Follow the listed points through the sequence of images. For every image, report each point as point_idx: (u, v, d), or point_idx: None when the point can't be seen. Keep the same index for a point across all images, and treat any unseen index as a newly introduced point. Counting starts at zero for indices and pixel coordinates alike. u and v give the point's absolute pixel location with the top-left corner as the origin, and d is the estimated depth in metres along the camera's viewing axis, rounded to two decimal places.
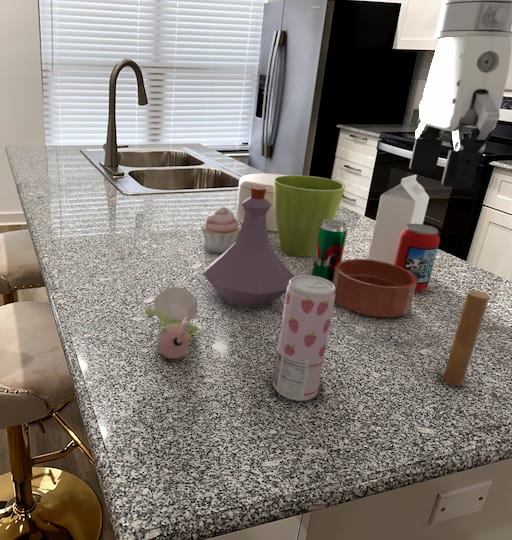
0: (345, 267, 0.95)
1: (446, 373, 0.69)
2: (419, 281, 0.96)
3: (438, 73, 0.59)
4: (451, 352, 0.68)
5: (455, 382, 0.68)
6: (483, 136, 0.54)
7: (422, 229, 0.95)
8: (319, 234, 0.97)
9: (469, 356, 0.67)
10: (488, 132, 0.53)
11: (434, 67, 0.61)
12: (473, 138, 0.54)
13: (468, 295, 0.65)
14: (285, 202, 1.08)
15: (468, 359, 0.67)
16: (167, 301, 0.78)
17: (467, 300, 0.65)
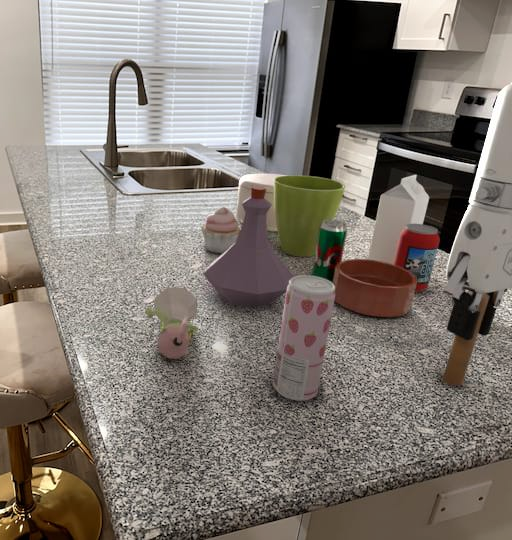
0: (345, 267, 0.95)
1: (446, 373, 0.69)
2: (419, 281, 0.96)
3: None
4: (451, 352, 0.68)
5: (455, 382, 0.68)
6: None
7: (422, 229, 0.95)
8: (319, 234, 0.97)
9: (469, 356, 0.67)
10: (457, 298, 0.63)
11: None
12: (453, 296, 0.64)
13: None
14: (285, 202, 1.08)
15: (468, 359, 0.67)
16: (167, 301, 0.78)
17: None
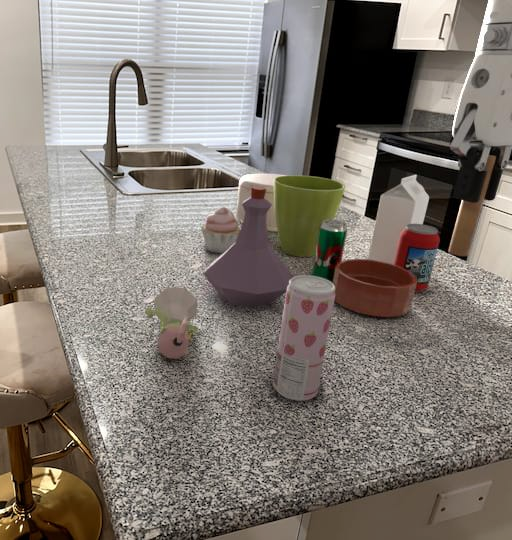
0: (345, 267, 0.95)
1: (452, 244, 0.68)
2: (419, 281, 0.96)
3: None
4: (457, 221, 0.67)
5: (461, 252, 0.68)
6: None
7: (422, 229, 0.95)
8: (319, 234, 0.97)
9: (475, 223, 0.66)
10: (464, 155, 0.62)
11: None
12: (459, 156, 0.63)
13: None
14: (285, 202, 1.08)
15: (474, 226, 0.66)
16: (167, 301, 0.78)
17: None
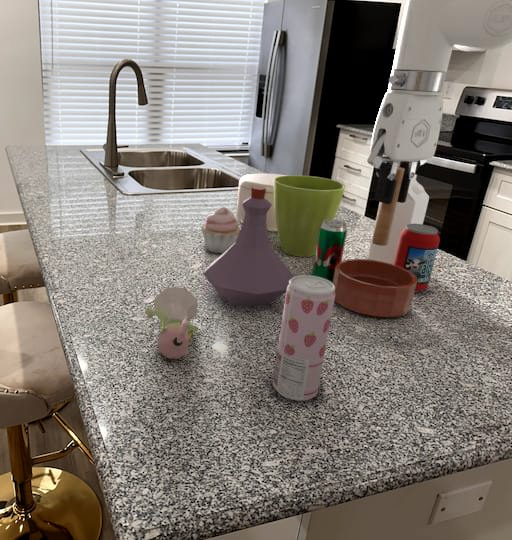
0: (345, 267, 0.95)
1: (374, 236, 0.87)
2: (419, 281, 0.96)
3: None
4: (378, 218, 0.86)
5: (381, 242, 0.87)
6: None
7: (422, 229, 0.95)
8: (319, 234, 0.97)
9: (391, 220, 0.85)
10: (378, 167, 0.81)
11: None
12: (376, 168, 0.82)
13: None
14: (285, 202, 1.08)
15: (390, 222, 0.85)
16: (167, 301, 0.78)
17: None
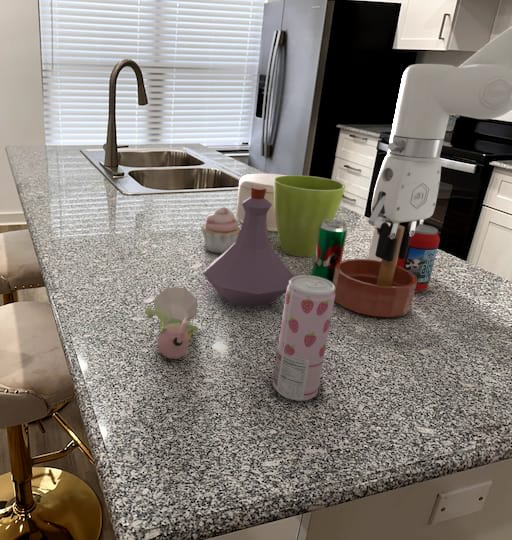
0: (345, 267, 0.95)
1: None
2: (419, 281, 0.96)
3: None
4: (379, 273, 0.89)
5: None
6: None
7: (422, 229, 0.95)
8: (319, 234, 0.97)
9: (392, 275, 0.88)
10: (379, 228, 0.83)
11: None
12: (377, 227, 0.85)
13: None
14: (285, 202, 1.08)
15: (391, 278, 0.88)
16: (167, 301, 0.78)
17: None
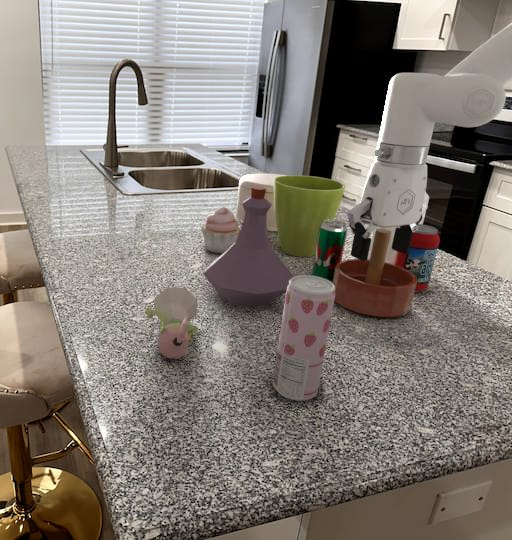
0: (345, 267, 0.95)
1: None
2: (419, 281, 0.96)
3: None
4: (366, 277, 0.90)
5: None
6: (353, 226, 0.83)
7: (422, 229, 0.95)
8: (319, 234, 0.97)
9: (379, 279, 0.89)
10: (353, 224, 0.83)
11: None
12: (350, 226, 0.84)
13: (376, 231, 0.87)
14: (285, 202, 1.08)
15: (378, 281, 0.90)
16: (167, 301, 0.78)
17: (375, 235, 0.87)
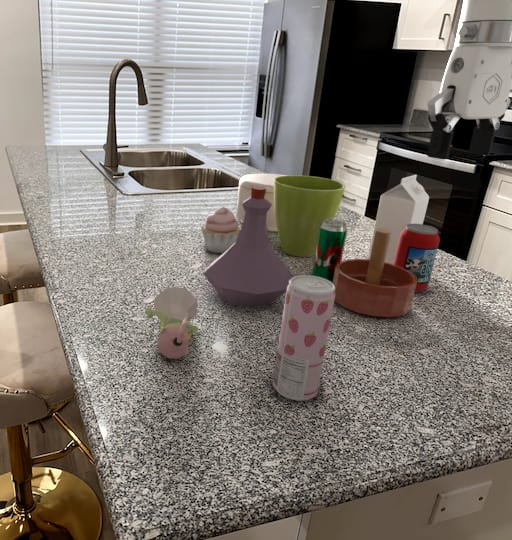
0: (345, 267, 0.95)
1: None
2: (419, 281, 0.96)
3: None
4: (366, 277, 0.90)
5: None
6: (433, 118, 0.75)
7: (422, 229, 0.95)
8: (319, 234, 0.97)
9: (379, 279, 0.89)
10: (434, 115, 0.75)
11: None
12: (429, 119, 0.76)
13: (376, 231, 0.87)
14: (285, 202, 1.08)
15: (378, 281, 0.90)
16: (167, 301, 0.78)
17: (375, 235, 0.87)
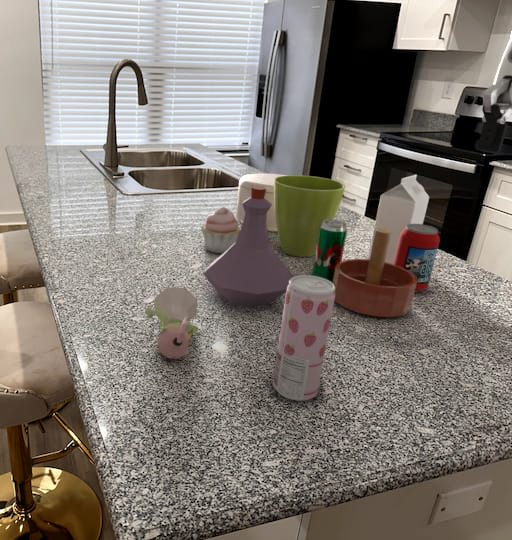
0: (345, 267, 0.95)
1: None
2: (419, 281, 0.96)
3: None
4: (366, 277, 0.90)
5: None
6: (488, 109, 0.73)
7: (422, 229, 0.95)
8: (319, 234, 0.97)
9: (379, 279, 0.89)
10: (489, 106, 0.73)
11: None
12: (482, 110, 0.74)
13: (376, 231, 0.87)
14: (285, 202, 1.08)
15: (378, 281, 0.90)
16: (167, 301, 0.78)
17: (375, 235, 0.87)
